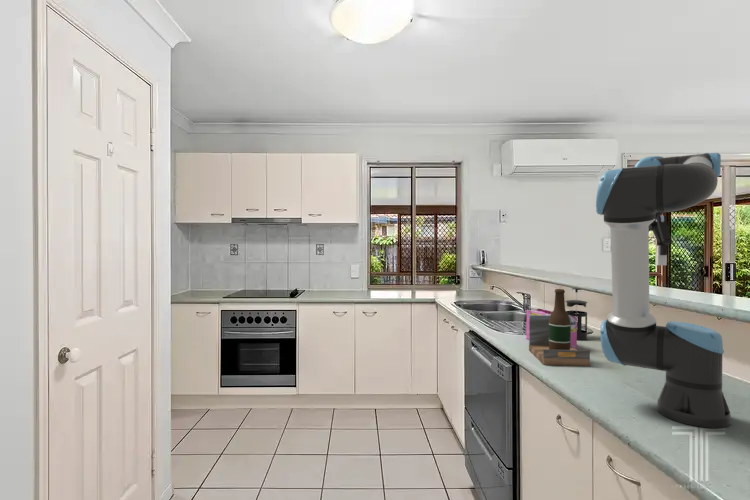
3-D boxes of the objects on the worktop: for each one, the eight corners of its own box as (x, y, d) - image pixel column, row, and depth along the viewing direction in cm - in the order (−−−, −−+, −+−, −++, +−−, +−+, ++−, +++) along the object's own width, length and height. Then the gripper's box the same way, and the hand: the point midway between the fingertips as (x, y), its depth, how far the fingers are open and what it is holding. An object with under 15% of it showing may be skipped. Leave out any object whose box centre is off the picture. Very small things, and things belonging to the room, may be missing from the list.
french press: (591, 341, 188) (591, 289, 188) (568, 340, 190) (569, 289, 189) (582, 335, 200) (582, 286, 199) (561, 334, 201) (561, 286, 201)
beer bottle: (566, 356, 156) (567, 291, 155) (545, 352, 161) (545, 289, 160) (573, 352, 161) (573, 289, 161) (552, 348, 166) (552, 287, 166)
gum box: (523, 338, 195) (523, 308, 194) (537, 337, 197) (538, 307, 197) (562, 351, 172) (562, 318, 172) (577, 349, 175) (578, 317, 174)
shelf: (589, 366, 152) (590, 325, 152) (543, 365, 154) (544, 325, 153) (569, 351, 172) (569, 315, 172) (528, 350, 174) (529, 315, 173)
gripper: (685, 199, 134) (684, 266, 135) (643, 205, 159) (642, 262, 159) (660, 199, 135) (659, 266, 135) (622, 205, 160) (621, 261, 160)
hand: (650, 264), depth 147 cm, fingers open, 13 cm apart
